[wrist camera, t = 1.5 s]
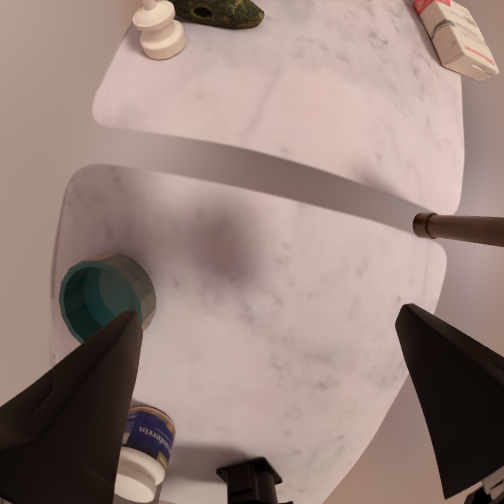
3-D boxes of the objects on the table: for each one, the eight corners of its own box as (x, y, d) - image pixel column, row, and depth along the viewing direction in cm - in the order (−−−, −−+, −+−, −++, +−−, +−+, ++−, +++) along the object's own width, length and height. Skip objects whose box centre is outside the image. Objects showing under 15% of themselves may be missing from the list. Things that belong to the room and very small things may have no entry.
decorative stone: (268, 13, 19) (273, -16, 15) (256, 37, 20) (261, 7, 15) (161, -1, 18) (152, -27, 14) (145, 22, 19) (132, -4, 14)
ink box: (410, 3, 19) (440, 68, 21) (426, -14, 15) (463, 53, 16) (451, 22, 20) (479, 84, 21) (468, 9, 15) (501, 74, 16)
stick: (432, 231, 23) (588, 254, 5) (416, 241, 23) (580, 273, 5) (426, 209, 23) (587, 214, 5) (409, 217, 23) (581, 230, 5)
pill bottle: (187, 430, 24) (174, 500, 14) (153, 445, 24) (135, 508, 14) (148, 396, 23) (118, 465, 13) (116, 415, 23) (85, 475, 14)
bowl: (171, 320, 22) (159, 339, 19) (106, 345, 22) (88, 364, 18) (132, 239, 21) (113, 243, 18) (70, 273, 21) (46, 282, 17)
